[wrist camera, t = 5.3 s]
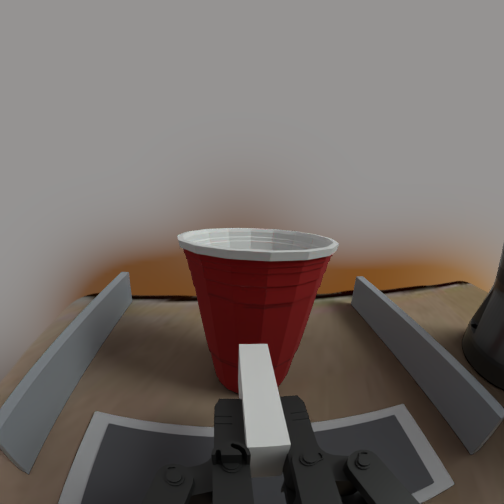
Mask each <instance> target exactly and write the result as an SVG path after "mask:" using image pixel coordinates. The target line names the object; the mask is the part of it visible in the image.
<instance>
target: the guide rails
mask: <svg viewBox="0 0 504 504" xmlns="http://www.w3.org/2000/svg"><path fill="white" fill-rule="evenodd" d="M131 302H132V296H131V288H130V280H129V272H121V273H120V274H119V275H118V276H117V277H116V278H115V279H114V280H113V281H112V282H111V283H110V284H109V285H108V286H107V287H106V288H105V289H104V290H103V291H102V292H101V293H100V294H99V295H98V296H97V297H96V298H95V299H94V300H93V301H92V302H91V303H90V304H89V305H88V306H87V307H86V308H85V309H84V310H83V311H82V312H81V313H80V314H79V315H78V316H77V317H76V318H75V319H74V320H73V321H72V323H71V324H70V325H69V326H68V327H67V328H66V329H65V330H64V331H63V332H62V333H61V335H60V336H59V337H58V338H57V339H56V340H55V341H54V342H53V343H52V345H51V346H50V347H49V348H48V349H47V350H46V352H45V353H44V354H43V355H42V356H41V357H40V359H39V360H38V361H37V362H36V363H35V365H34V366H33V367H32V368H31V369H30V371H29V372H28V373H27V374H26V376H25V377H24V378H23V379H22V381H21V382H20V383H19V384H18V386H17V387H16V388H15V390H14V391H13V392H12V394H11V395H10V396H9V398H8V399H7V400H6V402H5V403H4V404H3V406H2V407H1V409H0V449H1V450H2V451H3V452H4V454H5V455H6V456H7V457H8V458H9V459H10V460H11V461H12V462H13V463H14V464H15V465H16V466H17V467H18V468H19V469H20V470H22V471H24V472H25V473H27V474H29V473H30V470H31V468H32V466H33V464H34V462H35V460H36V458H37V456H38V454H39V452H40V450H41V448H42V446H43V444H44V442H45V440H46V438H47V436H48V434H49V432H50V430H51V428H52V427H53V425H54V423H55V421H56V419H57V417H58V416H59V414H60V412H61V410H62V409H63V407H64V405H65V403H66V402H67V400H68V398H69V396H70V395H71V393H72V391H73V390H74V388H75V386H76V385H77V383H78V382H79V380H80V378H81V377H82V375H83V373H84V372H85V370H86V369H87V367H88V366H89V364H90V362H91V361H92V359H93V358H94V356H95V355H96V353H97V352H98V350H99V349H100V347H101V346H102V344H103V343H104V341H105V340H106V338H107V337H108V335H109V334H110V332H111V331H112V329H113V328H114V326H115V325H116V323H117V322H118V321H119V319H120V318H121V316H122V315H123V313H124V312H125V311H126V309H127V308H128V306H129V305H130V304H131ZM351 305H352V306H353V307H354V308H355V309H356V310H357V311H358V313H359V314H360V315H361V316H362V317H363V318H364V320H365V321H366V322H367V323H368V324H369V325H370V327H371V328H372V329H373V330H374V331H375V332H376V334H377V335H378V336H379V337H380V338H381V339H382V341H383V342H384V343H385V344H386V345H387V347H388V348H389V349H390V350H391V351H392V353H393V354H394V355H395V356H396V357H397V359H398V360H399V361H400V362H401V364H402V365H403V366H404V367H405V369H406V370H407V371H408V372H409V373H410V375H411V376H412V377H413V378H414V380H415V381H416V382H417V383H418V385H419V386H420V387H421V389H422V390H423V391H424V392H425V394H426V395H427V396H428V397H429V399H430V400H431V401H432V403H433V404H434V405H435V407H436V408H437V409H438V410H439V412H440V413H441V414H442V416H443V417H444V418H445V420H446V421H447V422H448V424H449V425H450V426H451V428H452V429H453V430H454V432H455V433H456V435H457V436H458V437H459V439H460V440H461V442H462V443H463V444H464V446H465V447H466V449H467V450H468V451H469V453H470V454H471V455H472V454H474V453H475V452H477V451H478V450H479V449H480V448H481V447H482V446H483V445H484V443H485V442H486V441H487V440H488V439H489V437H490V436H491V435H492V434H493V433H494V431H495V430H496V429H497V427H498V426H499V425H500V423H501V422H502V421H503V419H504V408H503V407H502V406H501V405H500V404H499V403H498V402H497V400H496V399H495V398H494V397H493V396H492V395H491V394H490V393H489V392H488V391H487V390H486V389H485V388H484V387H483V386H482V385H481V384H480V383H479V382H478V381H477V380H476V379H475V378H474V377H473V376H472V375H471V374H470V373H469V372H468V371H467V370H466V369H465V368H464V367H463V366H462V365H461V364H460V363H459V362H458V361H457V360H456V359H455V358H454V357H453V356H452V355H451V354H450V353H449V352H448V351H447V350H446V349H445V348H444V347H442V346H441V345H440V344H439V343H438V342H437V341H436V340H435V339H434V338H433V337H432V336H431V335H430V334H428V333H427V332H426V331H425V330H424V329H423V328H422V327H421V326H420V325H419V324H417V323H416V322H415V321H414V320H413V319H412V318H411V317H410V316H408V315H407V314H406V313H405V312H404V311H403V310H402V309H400V308H399V307H398V306H397V305H396V304H395V303H394V302H392V301H391V300H390V299H389V298H388V297H387V296H385V295H384V294H383V293H382V292H381V291H379V290H378V289H377V288H376V287H375V286H374V285H372V284H371V283H370V282H369V281H367V280H366V279H365V278H364V277H356V281H355V287H354V292H353V297H352V302H351Z"/></svg>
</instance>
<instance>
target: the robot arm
mask: <svg viewBox="0 0 504 504" xmlns="http://www.w3.org/2000/svg"><path fill="white" fill-rule="evenodd" d="M462 347H463V351H464V354H465V356H466V358H467V359H468V361H469V362H470V364H471V365H472V366H473V367H474V368H475V370H476V371H477V372H478V373H480V374H481V375H482V376H483V377H484V378H485V379H487V380H488V381H490V382H491V383H493V384H494V385H496V386H498V387H500V388H502V389H504V244H503V249H502V254H501V259H500V263H499V268H498V272H497V276H496V279H495V282H494V285H493V287H492V288H491V290H490V292H489V293H488V295H487V296H486V298H485V300H484V301H483V303H482V304H481V306H480V307H479V309H478V310H477V312H476V313H475V315H474V316H473V318H472V319H471V320H470V322H469V324H468V327H467V329H466V332H465V335H464V337H463V340H462ZM238 388H239V399H219V401H218V402H217V404H216V405H215V414H214V448H213V450H212V453H211V458H210V459H209V460H208V461H207V462H205V463H203V464H201V465H197V466H192V467H185V466H182V465H180V464H167V465H165V466H163V467H161V468H160V469H159V470H158V471H157V473H156V475H155V477H154V479H153V481H152V483H151V485H150V487H149V489H148V491H147V493H146V495H145V497H144V499H143V501H142V503H141V504H254V497H253V489H252V479H251V478H254V477H270V476H281V475H282V472H283V475H284V482H283V485H282V487H281V493H282V492H284V494H285V499H286V504H420V503H419V502H418V501H417V500H416V499H415V498H414V497H413V495H412V494H411V493H410V492H409V491H408V490H407V489H406V488H405V487H404V486H403V484H402V483H401V482H400V481H399V480H398V479H397V478H396V477H395V475H394V474H393V473H392V472H391V471H390V470H389V469H388V467H387V466H386V465H385V464H384V463H383V462H382V461H381V459H380V458H379V457H378V456H377V455H376V454H375V453H373V452H372V451H369V450H358V451H355V452H353V453H352V454H351V455H350V456H342V455H332V454H329V453H326V452H325V451H323V450H322V449H321V448H320V447H319V445H318V443H317V441H316V438H315V435H314V431H313V428H312V425H311V422H310V420H309V416H308V413H307V410H306V407H305V404H304V402H303V401H302V400H301V399H300V398H299V397H298V396H284V397H280V396H279V392H278V387H277V383H276V379H275V374H274V370H273V366H272V361H271V357H270V353H269V348H268V344H239V362H238Z"/></svg>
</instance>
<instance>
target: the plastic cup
mask: <svg viewBox="0 0 504 504" xmlns="http://www.w3.org/2000/svg"><path fill="white" fill-rule="evenodd" d="M178 241H179V245H180V247H181V248H183V249H184V253H185V255H186V259H187V261H188V265H189V269H190V271H191V276H192V280H193V284H194V286H195V289H196V295H197V300H198V304H199V309H200V314H201V318H202V323H203V327H204V331H205V336H206V340H207V344H208V347H209V351H210V352H211V356H212V360H213V364H214V368H215V371H216V375H217V377H218V378H219V381H220V382H221V383H222V384H223V385H224V386H225V387H226V388H227V389H229V390H231V391H233V392H236V393H238V394H239V388H238V362H239V344H268V348H269V353H270V357H271V361H272V366H273V370H274V374H275V379H276V383H277V387H279V385H280V384H281V383H282V381H283V380H284V378H285V376H286V375H287V373H288V370H289V368H290V365H291V362H292V359H293V357H294V354H295V352H296V351H297V349H298V347H299V344H300V341H301V338H302V335H303V333H304V330H305V327H306V324H307V321H308V318H309V315H310V312H311V309H312V306H313V303H314V300H315V297H316V294H317V290H318V288H319V287H320V285H321V281H322V278H323V274H324V273H325V271H326V268H327V264H328V262H329V261H330V257H331V256H332V254H333V253H334V252H335V251H336V250H337V248H338V245H339V244H338V243H337V242H336V241H335V240H333V239H331V238H327V237H324V236H320V235H315V234H309V233H303V232H296V231H286V230H275V229H257V228H218V229H203V230H196V231H188V232H185V233H182V234H180V235H178Z"/></svg>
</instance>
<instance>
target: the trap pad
mask: <svg viewBox="0 0 504 504" xmlns="http://www.w3.org/2000/svg"><path fill="white" fill-rule="evenodd" d="M311 425H312V428H313V431H314V435H315V438H316V441H317V443H318V445H319V447H320V448H321V449H322V450H323V451H325V452H326V453H329V454H332V455H342V456H350V455H351V454H352V453H353V452H355V451H358V450H369V451H372V452H373V453H375V454H376V455H377V456H378V457H379V458H380V459H381V461H382V462H383V463H384V464H385V465H386V466H387V467H388V469H389V470H390V471H391V472H392V473H393V474H394V475H395V477H396V478H397V479H398V480H399V481H400V482H401V483H402V484H403V486H404V487H405V488H406V489H407V490H408V491H409V492H410V493H411V494H412V495H413V497H414V498H415V499H416V500H417V501H418V502H419V503H420V504H421V503H423V502H425V501H427V500H429V499H431V498H433V497H435V496H436V495H438V494H440V493H442V492H443V491H445V490H447V489H448V488H450V487H452V486H453V485H454V484H455V483H454V482H453V480H452V478H451V477H450V475H449V474H448V472H447V470H446V469H445V467H444V465H443V464H442V462H441V461H440V459H439V457H438V456H437V454H436V453H435V451H434V449H433V448H432V446H431V445H430V443H429V442H428V440H427V438H426V437H425V435H424V434H423V432H422V431H421V429H420V428H419V426H418V425H417V423H416V422H415V420H414V419H413V417H412V416H411V414H410V413H409V411H408V410H407V408H406V407H405V405H404V404H400V405H397V406H393V407H389V408H386V409H382V410H378V411H374V412H369V413H365V414H360V415H355V416H350V417H345V418H340V419H334V420H327V421H321V422H313V423H311ZM213 448H214V427H200V426H186V425H175V424H166V423H158V422H150V421H144V420H138V419H132V418H126V417H121V416H116V415H112V414H107V413H103V412H98V411H95V413H94V415H93V417H92V420H91V422H90V424H89V426H88V429H87V431H86V433H85V435H84V438H83V440H82V442H81V445H80V447H79V449H78V452H77V454H76V457H75V459H74V462H73V464H72V467H71V469H70V472H69V474H68V477H67V480H66V482H65V485H64V488H63V491H62V494H61V496H60V499H59V502H58V504H141V503H142V501H143V499H144V497H145V495H146V493H147V491H148V489H149V487H150V485H151V483H152V481H153V479H154V477H155V475H156V473H157V471H158V470H159V469H160V468H161V467H163V466H165V465H167V464H180V465H182V466H185V467H192V466H197V465H201V464H203V463H205V462H207V461H208V460H209V459H210V458H211V453H212V450H213ZM251 479H252V489H253V497H254V504H286V499H285V494H284V492H282V493H281V487H282V485H283V482H284V475H283V472H282V475H281V476H270V477H254V478H251Z"/></svg>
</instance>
